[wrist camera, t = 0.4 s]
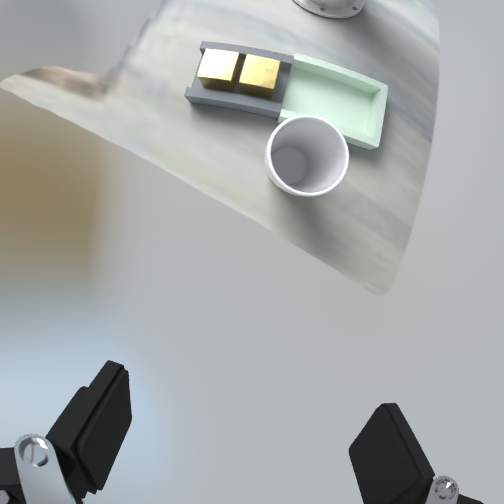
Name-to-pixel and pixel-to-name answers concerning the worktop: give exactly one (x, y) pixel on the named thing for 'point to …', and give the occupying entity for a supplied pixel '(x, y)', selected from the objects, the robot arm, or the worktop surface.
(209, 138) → the worktop surface
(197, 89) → the slot board
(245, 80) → the tan cube
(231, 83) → the gold cube
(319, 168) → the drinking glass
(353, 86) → the tray
